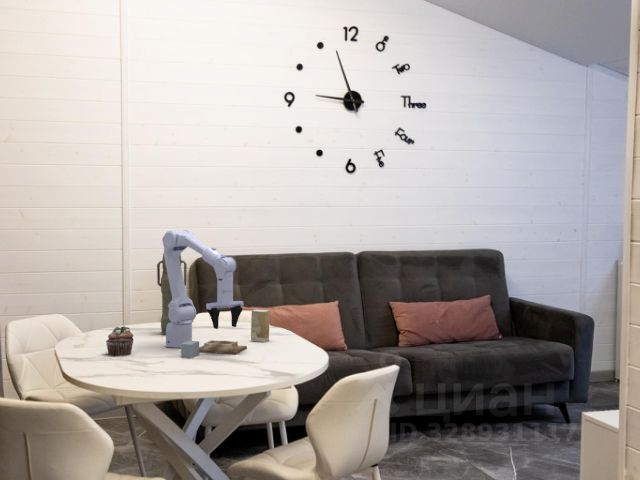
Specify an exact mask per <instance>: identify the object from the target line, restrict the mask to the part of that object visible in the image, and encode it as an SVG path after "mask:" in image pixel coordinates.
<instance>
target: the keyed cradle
mask: <svg viewBox="0 0 640 480" xmlns="http://www.w3.org/2000/svg"><path fill="white" fill-rule="evenodd" d="M247 349H248V347H247V345H239V341H237V340H235V341H234V340H219V339H218V340H216V339H211V340H208V341H207V342H204V343H203V345H202V346H199V354H200V353H201V354H202V353H203V354H218V355H220V354H219V353H221V355H222V354H223V355H239V354H240V353H242V352H244V351H246V350H247Z"/></svg>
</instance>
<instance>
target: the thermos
mask: <svg viewBox="0 0 640 480" xmlns="http://www.w3.org/2000/svg"><path fill="white" fill-rule="evenodd" d="M162 253H163V254H162V255H163V256H162V260H160V261H158V262H157V264H156V276H157V277H156V278H157V281H156V282H157V283H156V284H157V285H158V286H159V287H160V291H161V292H160V293H161V309H162V310H161V311H162V312H161V320H160V328H161V335H162V336H166V327H167V324H168V323H172V322H171V321H170V319H169V316H168V313H169V307H168V305H169V303H170V302H171V301H172V294H171V289H170V283H169V278H168V273H167V268H166V263H165V258H164V252H162ZM179 259H180V264H181V265H182V264H183V279H184V284H185V287H186V286H187V282H188V281H187V279H188V278H187V274H188V272H187V269H188V267H187V263H186V261H185V260H182V253H181V254H180V255H179ZM161 265H162V266H161ZM161 268H162V271H161ZM161 272H162V275H161ZM179 306H182V305H179Z"/></svg>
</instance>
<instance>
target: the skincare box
mask: <svg viewBox="0 0 640 480" xmlns="http://www.w3.org/2000/svg"><path fill="white" fill-rule="evenodd" d="M270 314H271V310H270V309H269V310H268V309H267V310H266V309H253V310H251V317H250V318H251V324H250V329H251V330H250V341H251V342H258V343H259V342H260V343H266V342H269V341H270V319H271V318H270V317H271V315H270Z"/></svg>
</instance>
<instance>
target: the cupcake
mask: <svg viewBox="0 0 640 480" xmlns="http://www.w3.org/2000/svg"><path fill="white" fill-rule="evenodd" d="M107 337H108V339H107V340H105V343H106V349H107V353H108V355H109V356H111V357H123V356H129V355H131V353H132V349H133V345H134V338H133V337H134V334H133V333H132V332H131V329H130V327H127V326H125V325H123V326H121V327H120V326H115V328H114V329H113V330H112V332H110V333H109V334H108V336H107Z"/></svg>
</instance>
